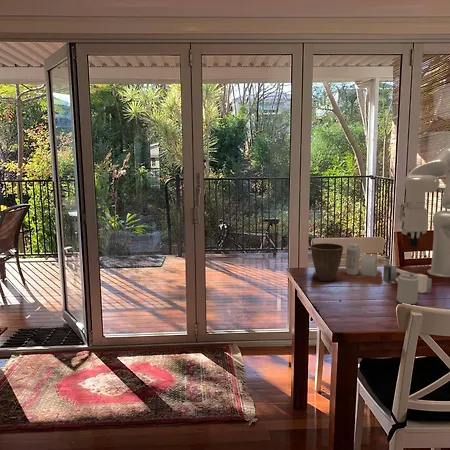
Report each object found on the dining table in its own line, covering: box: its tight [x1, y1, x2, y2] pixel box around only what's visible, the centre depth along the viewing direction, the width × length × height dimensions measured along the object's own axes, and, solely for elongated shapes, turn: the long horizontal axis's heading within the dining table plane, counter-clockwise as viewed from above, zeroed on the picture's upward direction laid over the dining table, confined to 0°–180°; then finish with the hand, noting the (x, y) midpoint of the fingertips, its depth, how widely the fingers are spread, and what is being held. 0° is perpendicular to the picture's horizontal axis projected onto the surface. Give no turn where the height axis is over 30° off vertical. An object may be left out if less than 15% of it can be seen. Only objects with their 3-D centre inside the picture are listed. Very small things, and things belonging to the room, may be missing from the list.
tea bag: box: [360, 253, 378, 277], centre depth 212 cm, size 4×7×10 cm, turn 50°
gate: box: [391, 266, 429, 294], centre depth 191 cm, size 3×18×7 cm, turn 26°
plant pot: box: [310, 242, 344, 282], centre depth 204 cm, size 15×15×16 cm
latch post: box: [425, 277, 433, 294], centre depth 185 cm, size 2×2×6 cm
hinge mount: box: [382, 264, 398, 286], centre depth 199 cm, size 4×7×8 cm, turn 25°
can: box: [396, 271, 419, 306], centre depth 171 cm, size 8×8×12 cm
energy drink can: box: [345, 243, 361, 276], centre depth 212 cm, size 6×6×15 cm
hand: (413, 246), depth 189 cm, fingers closed
